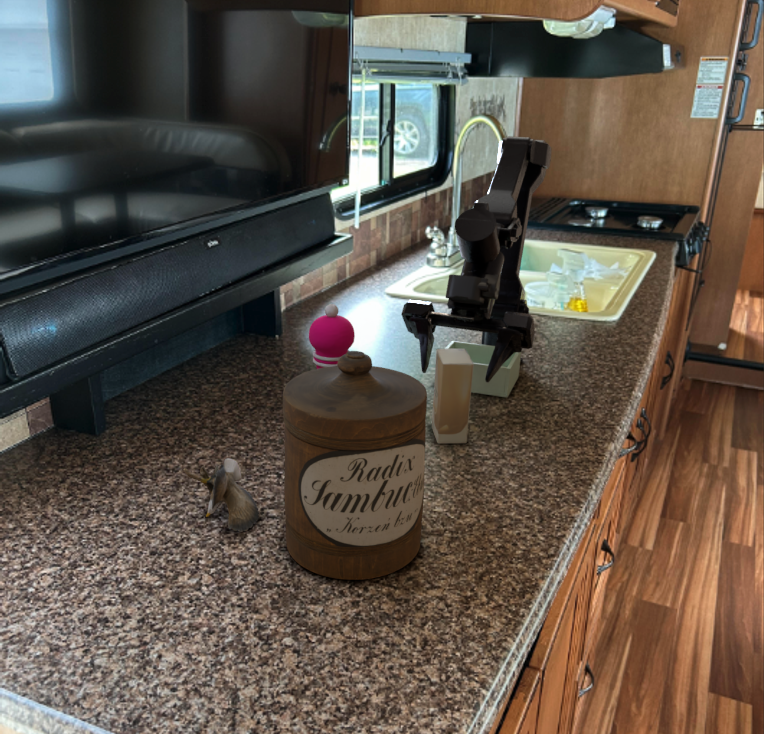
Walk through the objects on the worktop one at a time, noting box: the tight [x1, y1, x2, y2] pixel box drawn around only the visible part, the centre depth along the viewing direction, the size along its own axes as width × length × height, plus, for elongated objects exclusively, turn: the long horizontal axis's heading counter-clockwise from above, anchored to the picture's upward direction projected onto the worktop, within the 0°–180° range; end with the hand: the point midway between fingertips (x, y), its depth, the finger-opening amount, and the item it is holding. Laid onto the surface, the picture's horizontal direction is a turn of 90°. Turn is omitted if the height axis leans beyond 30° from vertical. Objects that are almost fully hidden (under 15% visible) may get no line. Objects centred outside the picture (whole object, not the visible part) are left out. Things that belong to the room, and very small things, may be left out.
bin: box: [444, 340, 522, 399], centre depth 129 cm, size 12×10×5 cm
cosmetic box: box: [431, 348, 473, 444], centre depth 108 cm, size 6×4×12 cm
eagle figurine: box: [182, 457, 260, 533], centre depth 89 cm, size 8×7×9 cm
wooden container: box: [282, 350, 428, 581], centre depth 80 cm, size 15×15×22 cm
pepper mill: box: [308, 303, 356, 369], centre depth 103 cm, size 7×7×20 cm
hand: (454, 376), depth 108 cm, fingers open, 9 cm apart
